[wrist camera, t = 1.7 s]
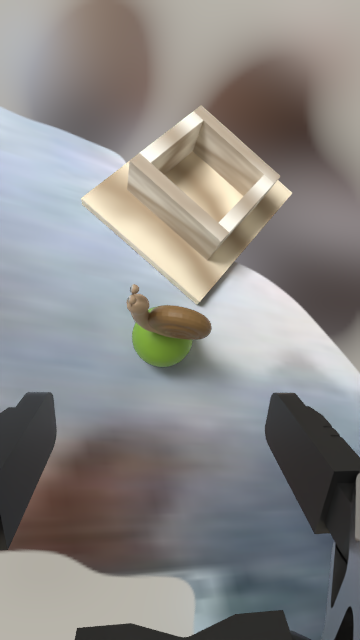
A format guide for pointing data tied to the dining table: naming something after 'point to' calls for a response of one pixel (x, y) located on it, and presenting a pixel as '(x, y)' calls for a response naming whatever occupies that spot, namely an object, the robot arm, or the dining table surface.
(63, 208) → the dining table surface
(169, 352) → the snail figurine
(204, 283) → the wooden box tray
